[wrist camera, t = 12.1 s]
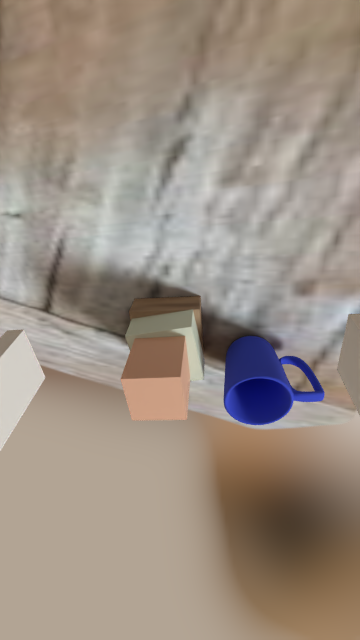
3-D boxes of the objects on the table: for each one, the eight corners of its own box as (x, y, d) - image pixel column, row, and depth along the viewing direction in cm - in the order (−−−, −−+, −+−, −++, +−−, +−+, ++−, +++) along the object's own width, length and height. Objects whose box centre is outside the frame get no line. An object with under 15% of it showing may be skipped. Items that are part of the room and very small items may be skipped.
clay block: (134, 338, 38) (120, 379, 32) (185, 336, 37) (180, 377, 31) (143, 376, 41) (132, 420, 35) (190, 375, 40) (186, 419, 34)
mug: (301, 373, 48) (321, 427, 39) (221, 373, 49) (223, 424, 41) (309, 327, 44) (334, 376, 35) (221, 328, 45) (224, 376, 36)
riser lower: (135, 297, 44) (128, 311, 40) (200, 294, 43) (199, 309, 39) (144, 349, 48) (139, 367, 45) (203, 348, 47) (203, 365, 44)
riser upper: (131, 318, 41) (124, 336, 37) (192, 309, 39) (191, 326, 36) (148, 366, 45) (143, 386, 41) (204, 359, 43) (203, 379, 40)
